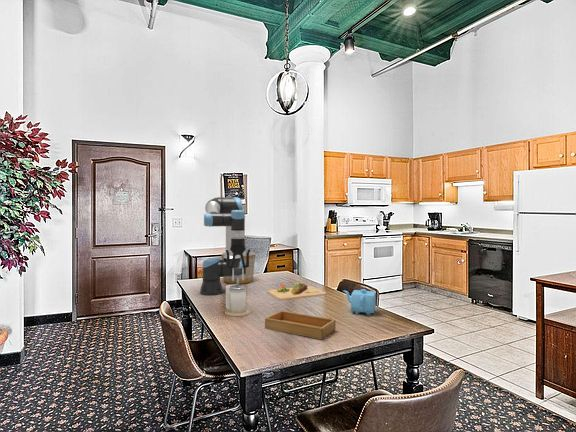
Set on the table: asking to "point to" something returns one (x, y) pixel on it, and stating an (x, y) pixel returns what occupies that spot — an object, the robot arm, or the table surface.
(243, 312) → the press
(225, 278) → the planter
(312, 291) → the cutting board
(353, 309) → the teapot
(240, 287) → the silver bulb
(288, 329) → the tray
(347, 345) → the table surface
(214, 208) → the robot arm
